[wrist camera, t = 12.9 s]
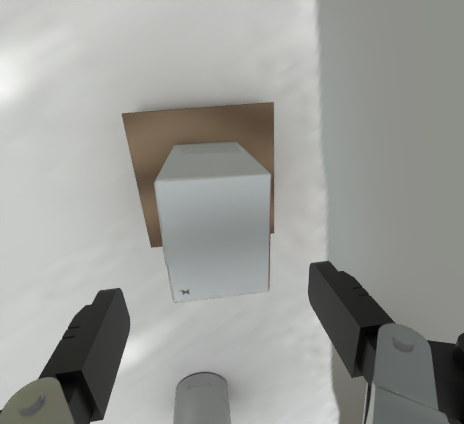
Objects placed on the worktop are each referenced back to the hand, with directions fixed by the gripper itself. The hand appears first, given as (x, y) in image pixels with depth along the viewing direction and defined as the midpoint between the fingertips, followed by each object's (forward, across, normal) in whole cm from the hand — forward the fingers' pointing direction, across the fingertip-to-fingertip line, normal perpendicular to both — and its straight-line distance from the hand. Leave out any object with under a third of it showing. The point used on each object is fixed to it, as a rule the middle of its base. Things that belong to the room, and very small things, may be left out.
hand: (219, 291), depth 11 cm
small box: (+17, 0, 0) cm, 17 cm away
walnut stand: (+22, 0, 0) cm, 22 cm away
